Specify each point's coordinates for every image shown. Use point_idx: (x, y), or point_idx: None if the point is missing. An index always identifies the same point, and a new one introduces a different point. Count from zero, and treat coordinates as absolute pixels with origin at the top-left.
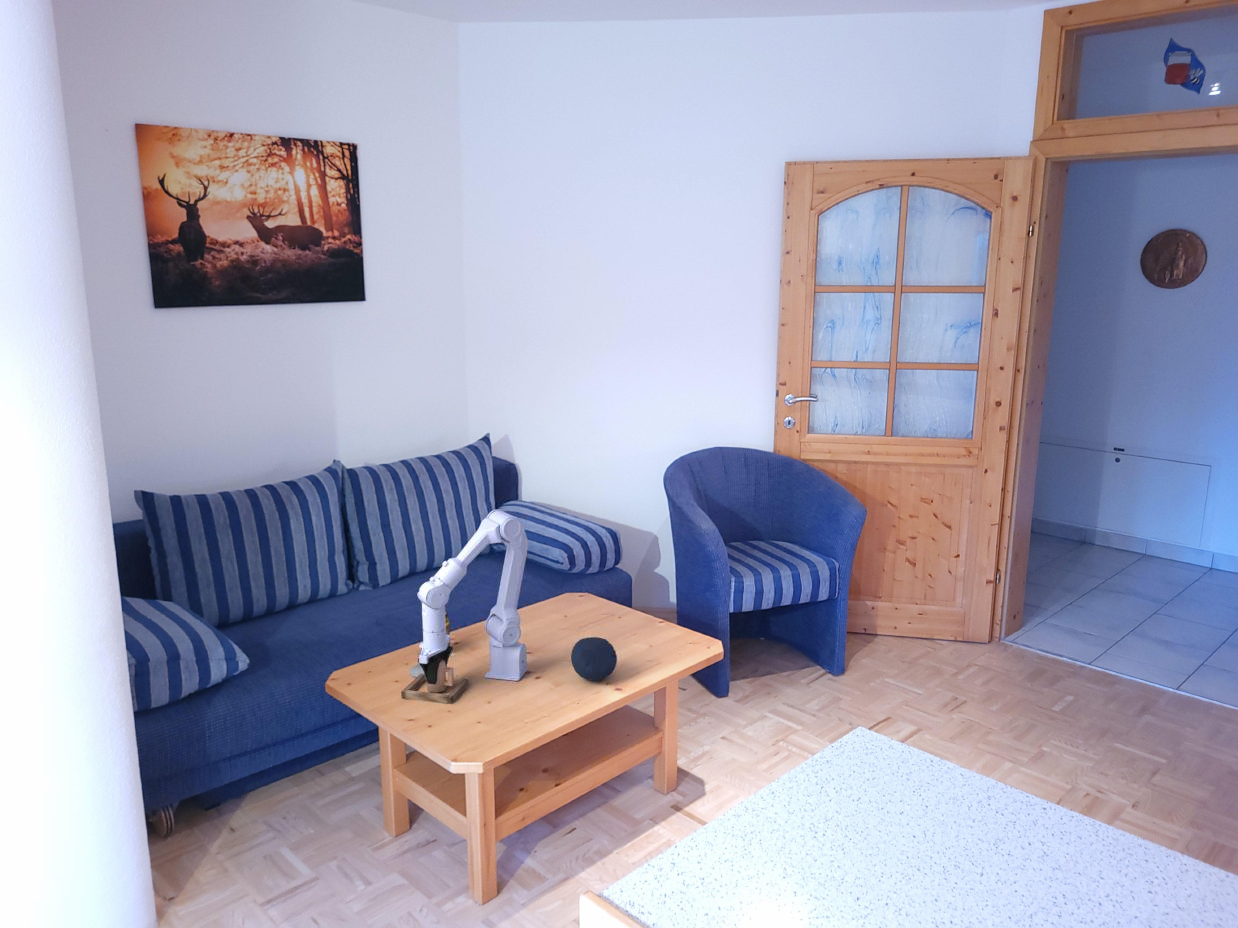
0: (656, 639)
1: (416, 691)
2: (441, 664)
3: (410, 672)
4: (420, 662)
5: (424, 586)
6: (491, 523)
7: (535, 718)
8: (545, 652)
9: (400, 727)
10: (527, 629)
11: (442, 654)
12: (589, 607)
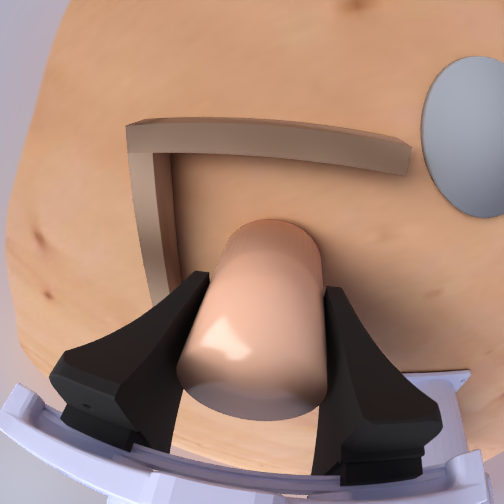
0: None
1: (152, 207)
2: (229, 410)
3: (460, 65)
4: (18, 390)
5: None
6: None
7: (185, 437)
8: (494, 410)
9: (7, 227)
10: None
11: (323, 438)
12: None
